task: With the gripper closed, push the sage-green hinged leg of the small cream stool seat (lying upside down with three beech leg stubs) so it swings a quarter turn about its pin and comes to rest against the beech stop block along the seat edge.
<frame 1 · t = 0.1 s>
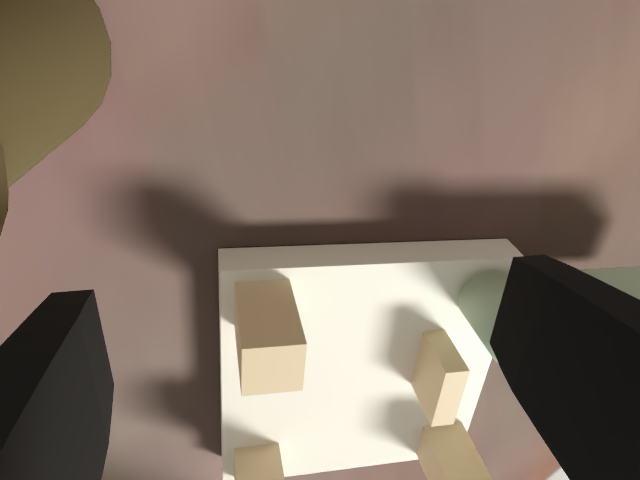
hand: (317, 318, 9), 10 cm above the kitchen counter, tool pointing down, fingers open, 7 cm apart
stool seat: (353, 355, 24), on the kitchen counter
hinged leg: (579, 314, 20), point 3 cm above the kitchen counter, hinge at 90.0°
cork: (0, 43, 15), on the kitchen counter
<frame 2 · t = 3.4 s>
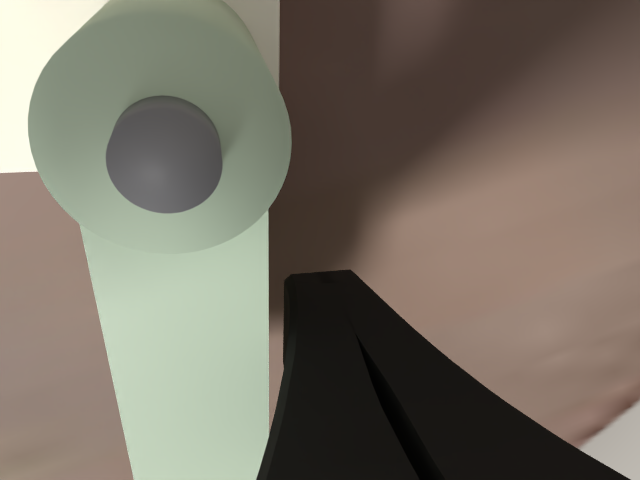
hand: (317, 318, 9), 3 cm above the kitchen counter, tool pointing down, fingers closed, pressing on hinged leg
hinged leg: (192, 325, 8), point 3 cm above the kitchen counter, hinge at 90.0°, touching gripper
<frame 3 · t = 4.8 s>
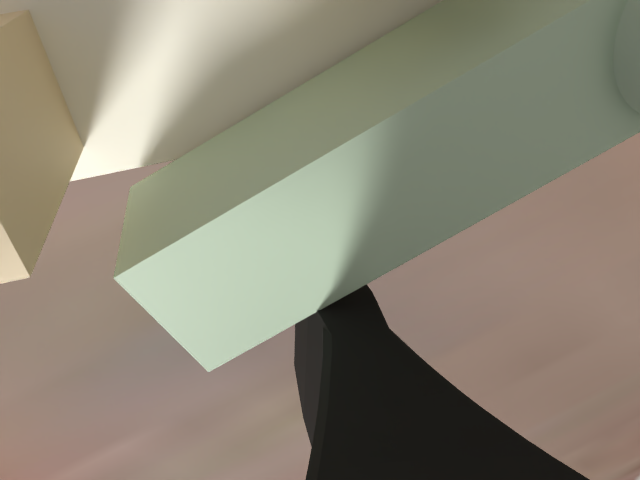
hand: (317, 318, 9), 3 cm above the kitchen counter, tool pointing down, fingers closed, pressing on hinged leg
hinged leg: (436, 132, 7), point 3 cm above the kitchen counter, hinge at 20.1°, touching gripper
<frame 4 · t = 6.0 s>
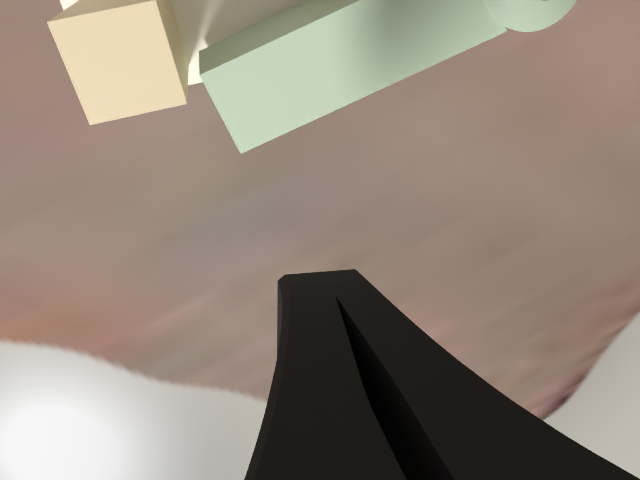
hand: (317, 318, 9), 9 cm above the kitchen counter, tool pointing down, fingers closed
hinged leg: (387, 26, 12), point 3 cm above the kitchen counter, hinge at 12.4°
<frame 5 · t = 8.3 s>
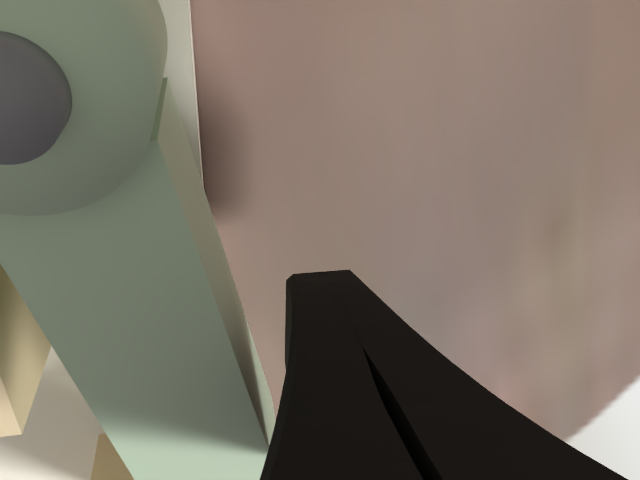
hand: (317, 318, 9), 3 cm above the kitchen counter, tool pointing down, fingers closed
hinged leg: (147, 295, 7), point 3 cm above the kitchen counter, hinge at 12.3°, touching gripper
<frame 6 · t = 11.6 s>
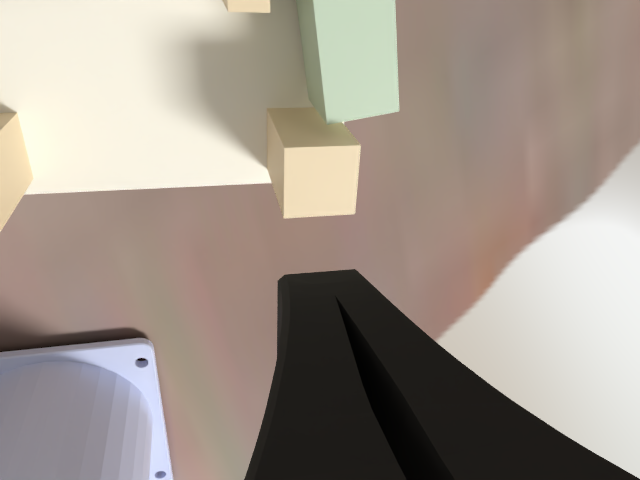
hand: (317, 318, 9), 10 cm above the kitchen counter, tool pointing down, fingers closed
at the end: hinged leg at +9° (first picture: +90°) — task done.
